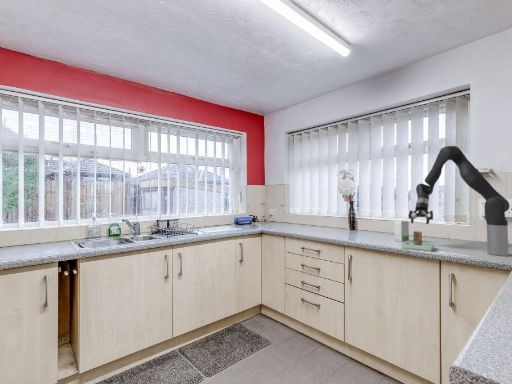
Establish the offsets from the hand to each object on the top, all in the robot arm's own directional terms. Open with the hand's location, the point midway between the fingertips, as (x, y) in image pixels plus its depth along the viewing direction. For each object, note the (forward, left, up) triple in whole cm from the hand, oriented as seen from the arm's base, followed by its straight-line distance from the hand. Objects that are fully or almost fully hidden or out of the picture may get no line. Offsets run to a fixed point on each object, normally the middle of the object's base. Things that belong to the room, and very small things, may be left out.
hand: (419, 222), depth 182 cm
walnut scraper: (0, +7, -15) cm, 17 cm away
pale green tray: (0, +7, -16) cm, 18 cm away
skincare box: (+15, -19, -16) cm, 30 cm away
